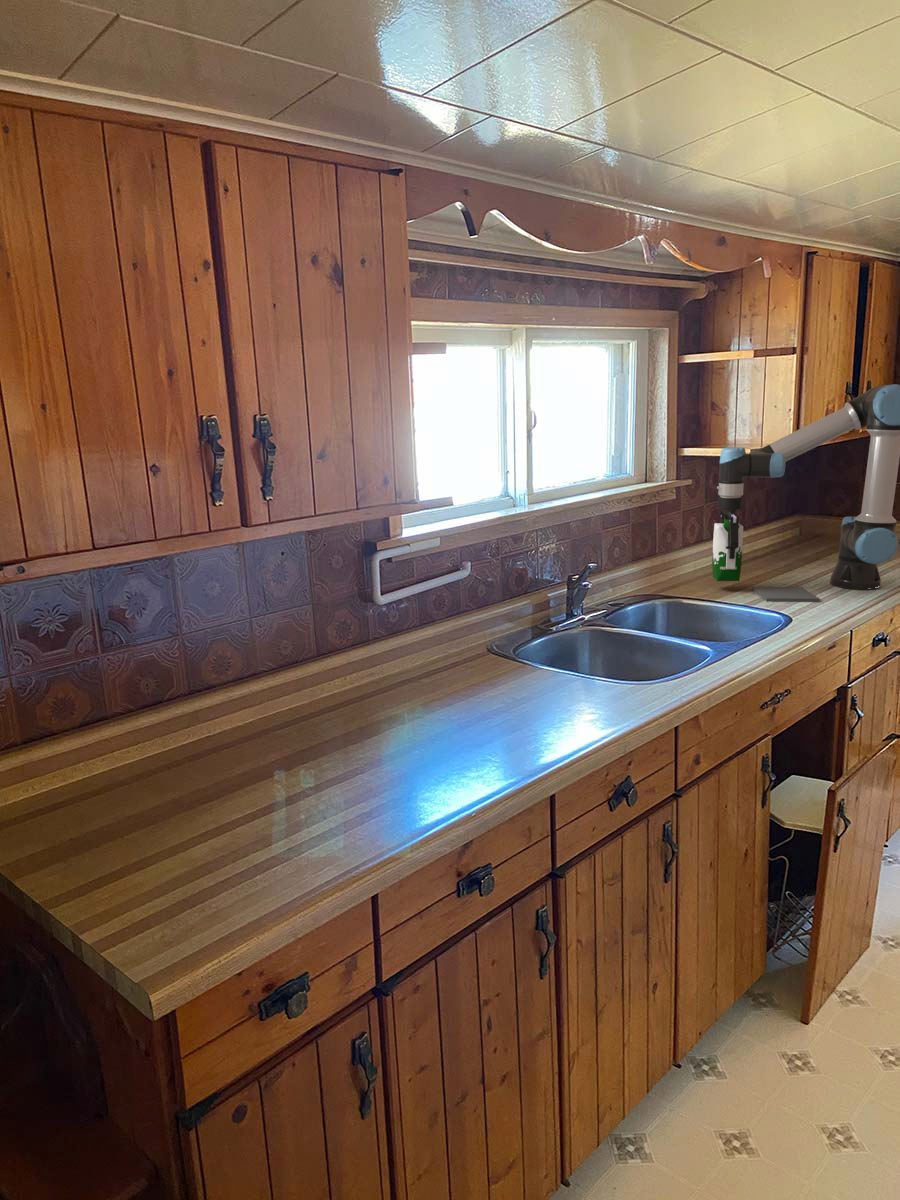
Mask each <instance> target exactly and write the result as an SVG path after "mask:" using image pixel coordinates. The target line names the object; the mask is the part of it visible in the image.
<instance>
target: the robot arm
mask: <svg viewBox="0 0 900 1200" xmlns="http://www.w3.org/2000/svg"><path fill="white" fill-rule="evenodd" d="M865 427H866V428H865ZM863 428H865V429H866V432H867V433H868V434H869V435H870V439H869V440H870V442H869V448H868V449H869V450H868V456H867V465H866V472H865V479H864V480H865V481H864V487H863V496H862V504H861V511H860V514H859V515H857V516H844V517H843V518H842V522H841V525H840V528H841V529H840V536H839V537H840V538H839V549H838V559H837V563H836V565H835V567H834V569H833V571H832V573H831V575H830V582H829V584H830V585H832V586H833V587H834V586H835V587H838V588H842V589H843V588H844V589H849V588H850V590H862V589H868V588H875V587H878V586H880V587H881V576H880V571H879V567H878V565H879V564H884V563H886V562H887V561H890V560H891V559H892V558H893V557H895V555H896V553H897V551H898V548H899V540H898V537H897V535H896V527H897V520H896V519H895V518H894V516H893V509H894V501H895V494H896V487H897V479H898V473H899V472H898V471H899V465H900V384H893V383H892V384H880V385H876V386H874V387H872V388H871V389H868V390H867V391H865V392H864V393H861V394H860V395H858V396H857V397H855V398H853V399H851V400H849V401H847V402H845V404H844V405H843V407H841V408H840V409H838V410H836V411H834V412H832V413H830V414H828V415H825V416H824V417H822V418H820V419H818V420H815V421H813V422H811V423H810V424H808V425H806V426H803V427H802V428H799V429H797V430H795V431H794V432H791V433H790V434H788V435H785V436H783V437H780V438H779V439H776V440H775V441H773V442H771V443H769V444H768V445H765V446H763V447H761V448H759V449H753V450H751V451H750V452H749V453H747V452H746V447H745V448H744V447H738V446H735V447H733V446H730V447H728V446H727V447H723V448H722V449H721V450H720V455H719V465H718V466H719V468H718V469H719V472H718V486H716V489H717V490H718V491H717V494H718V498H717V509H720V510H721V511H720V512H719V523H721V524H724V519H725V520H729V521H730V533H728V546H727V547H726V549H727V556H726V569H735V560H736V548H738V547H739V545H738V524H739V523H740V522H739V521H740V517H739V516H738V515H737V510H742V508H743V500H744V499H743V497H742V496H743V495H744V485H745V484H744V478H765V479H766V478H771V479H773V478H781V477H783V476H784V475H785V471H786V462H788V461H790V460H792V459H794V458H796V457H798V456H800V455H802V454H805V453H807V452H808V451H810V450H814V449H815V448H817V447H819V446H821V445H823V444H825V443H827V442H829V441H831V440H834V439H835V438H838V437H840V436H842V435H844V434H846V433H848V432H850V431H852V430H858V431H859V430H861V429H863ZM868 590H869V589H868Z"/></svg>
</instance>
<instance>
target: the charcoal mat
mask: <svg viewBox="0 0 900 1200" xmlns="http://www.w3.org/2000/svg"><path fill="white" fill-rule="evenodd" d="M751 591H753V592H754V593H755V592H756V593H757V594H756V593H755V594H756V595H758V596H759V597H760V596H761V597H762V598H761V597H760V598H761V599H763V600H764V601H765V600H766V601H765V602H768V601H771V602H772V603H773V602H779V603H780V602H781V603H782V602H784V603H785V602H789V603H794V602H795V603H796V602H800V603H803V602H804V603H805V602H806V603H807V602H809V603H819V602H820V600H821V599H820V598H819V597H818V596H816V595H815V594H813V593H812V592H810V591H808V590H807V589H805V588H804V587H803V586H751ZM771 602H770V603H771Z"/></svg>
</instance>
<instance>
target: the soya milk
mask: <svg viewBox="0 0 900 1200" xmlns="http://www.w3.org/2000/svg"><path fill="white" fill-rule="evenodd" d="M728 533H730V521H729V520H725V519H724V524H721V523H720V522H719V523H718V522H715V523H714V526H713V541H712V544H713V545H712V555H711V557H712V558H711V565H712V577H713V579H715V581H717V582H740V578H741V577H740V576H741V571H742V562H743V561H742V560H743V559H742V558H743V543H744V542H743V540H744V539H743V538H744V526H743V525H742V524H741V523H738V545H739V547H738V548H736V560H735V569H726V556H727V549H726V547H727V546H728Z"/></svg>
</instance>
